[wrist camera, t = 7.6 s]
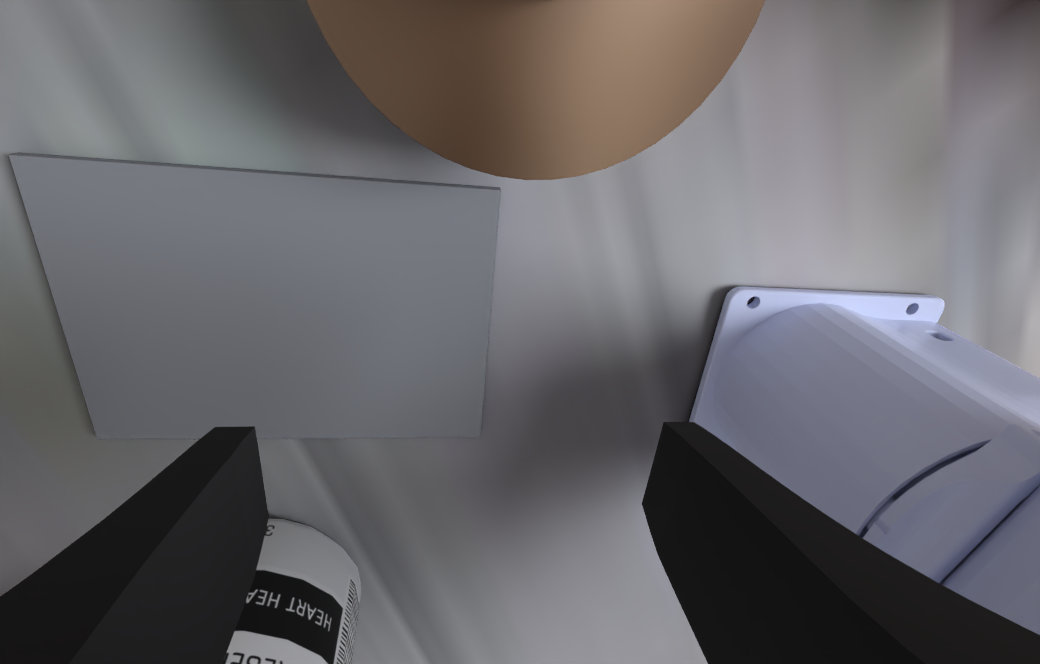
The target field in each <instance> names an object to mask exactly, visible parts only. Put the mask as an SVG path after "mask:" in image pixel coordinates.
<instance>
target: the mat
mask: <svg viewBox="0 0 1040 664" xmlns="http://www.w3.org/2000/svg"><path fill="white" fill-rule="evenodd" d="M9 158H10V161H11V164H12V168H13V171H14V174H15V177H16V180H17V184H18V187H19V190H20V193H21V196H22V200H23V203H24V206H25V209H26V212H27V216H28V219H29V222H30V225H31V228H32V232H33V235H34V238H35V241H36V244H37V248H38V251H39V254H40V257H41V260H42V264H43V267H44V270H45V273H46V276H47V280H48V283H49V286H50V289H51V293H52V296H53V299H54V302H55V305H56V309H57V312H58V315H59V318H60V321H61V325H62V328H63V331H64V334H65V337H66V341H67V344H68V347H69V350H70V353H71V357H72V360H73V363H74V366H75V369H76V373H77V376H78V379H79V382H80V385H81V389H82V392H83V395H84V398H85V402H86V405H87V408H88V411H89V414H90V418H91V421H92V424H93V427H94V430H95V434H96V437H97V439H201V438H202V437H203V436H204V435H206V434H207V433H208V432H209V431H211V430H212V429H213V428H214V427H247V426H255V430H256V437H257V439H259V438H478V437H480V436H481V423H482V411H483V399H484V387H485V375H486V363H487V351H488V339H489V327H490V315H491V303H492V290H493V278H494V266H495V254H496V242H497V230H498V218H499V206H500V194H501V190H500V188H498V187H484V186H470V185H456V184H443V183H429V182H415V181H401V180H388V179H374V178H360V177H346V176H333V175H319V174H305V173H291V172H278V171H264V170H250V169H236V168H223V167H209V166H195V165H182V164H168V163H154V162H140V161H127V160H113V159H99V158H85V157H72V156H58V155H44V154H30V153H15V154H10V155H9Z"/></svg>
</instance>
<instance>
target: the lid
mask: <svg viewBox="0 0 1040 664" xmlns="http://www.w3.org/2000/svg"><path fill="white" fill-rule="evenodd" d="M307 2H308V5H309V8H310V10H311V12H312V14H313V16H314V18H315V20H316V22H317V24H318V26H319V28H320V30H321V32H322V34H323V36H324V38H325V40H326V42H327V43H328V45H329V46H330V48H331V49H332V51H333V53H334V54H335V56H336V57H337V59H338V60H339V62H340V63H341V65H342V67H343V68H344V70H345V71H346V73H347V74H348V75H349V76H350V78H351V79H352V80H353V81H354V83H355V84H356V85H357V86H358V88H359V89H360V90H361V91H362V92H363V94H364V95H365V96H366V97H367V99H368V100H369V101H370V102H371V103H372V104H373V105H374V106H375V107H376V108H377V109H378V110H379V111H380V112H382V113H383V114H384V115H385V116H386V117H387V118H388V119H389V120H390V121H391V122H392V123H393V124H394V125H395V126H397V127H398V128H399V129H401V130H402V131H403V132H405V133H406V134H407V135H409V136H410V137H411V138H413V139H414V140H415V141H417V142H418V143H420V144H421V145H423V146H425V147H426V148H428V149H430V150H432V151H433V152H435V153H437V154H439V155H440V156H442V157H444V158H446V159H448V160H451V161H453V162H456V163H458V164H460V165H463V166H465V167H467V168H470V169H473V170H477V171H480V172H484V173H488V174H491V175H495V176H500V177H508V178H515V179H523V180H553V179H560V178H568V177H575V176H580V175H584V174H588V173H591V172H595V171H598V170H602V169H605V168H608V167H610V166H612V165H615V164H617V163H620V162H622V161H624V160H627V159H629V158H631V157H633V156H635V155H636V154H638V153H640V152H641V151H643V150H645V149H647V148H648V147H650V146H652V145H654V144H655V143H657V142H658V141H659V140H661V139H662V138H663V137H665V136H666V135H667V134H669V133H670V132H671V131H672V130H674V129H675V128H676V127H678V126H679V125H680V124H681V123H682V122H683V121H684V120H685V119H686V118H687V117H688V116H690V115H691V114H692V113H693V112H694V111H695V110H696V109H697V108H698V107H699V106H700V105H701V104H702V103H703V102H704V100H705V99H706V98H707V97H708V96H709V94H710V93H711V92H712V91H713V90H714V88H715V87H716V86H717V85H718V84H719V83H720V81H721V80H722V79H723V77H724V76H725V74H726V73H727V71H728V70H729V68H730V67H731V65H732V64H733V62H734V61H735V59H736V58H737V56H738V55H739V53H740V52H741V50H742V48H743V46H744V44H745V42H746V40H747V38H748V37H749V35H750V33H751V31H752V29H753V27H754V25H755V24H756V21H757V19H758V17H759V14H760V12H761V9H762V7H763V4H764V2H765V0H307Z"/></svg>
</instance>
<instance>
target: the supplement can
mask: <svg viewBox="0 0 1040 664" xmlns="http://www.w3.org/2000/svg"><path fill="white" fill-rule="evenodd" d="M361 591H362V587H361V582H360V577H359V572H358V567H357V566H356V565H355V563H354V562H353V561H352V559H351V558H350V557H349V556H348V554H347V553H346V552H345V550H344V549H343V548H342V547H341V546H339V545H338V544H336V543H335V542H334V540H332V539H331V538H329V537H327V536H326V535H324V534H322V533H321V532H319V531H317V530H316V529H314V528H313V527H310V526H307V525H303V524H300V523H296V522H293V521H289V520H285V519H270V518H269V519H268V523H267V527H266V532H265V536H264V540H263V545H262V549H261V553H260V557H259V561H258V565H257V569H256V573H255V577H254V580H253V583H252V585H251V588H250V591H249V594H248V596H247V599H246V602H245V604H244V607H243V610H242V613H241V615H240V618H239V621H238V623H237V626H236V629H235V631H234V634H233V637H232V639H231V642H230V645H229V647H228V650H227V653H226V655H225V658H224V661H223V663H222V664H351V661H352V654H353V647H354V640H355V633H356V626H357V619H358V612H359V605H360V598H361Z"/></svg>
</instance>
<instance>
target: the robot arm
mask: <svg viewBox="0 0 1040 664" xmlns="http://www.w3.org/2000/svg"><path fill="white" fill-rule="evenodd" d="M754 296H755V299H754V301H753V302H752V303H751V304H748V305H747V302H748V300H749V299H750V298H751V297H754ZM909 305H910V307H909V308H908V306H909ZM944 306H945V305H944V301H943V300H942V299H941V298H938V297H936V296H933V295H917V294H895V293H873V292H851V291H830V290H808V289H786V288H764V287H742V286H740V287H735V288H733V289H731V290H730V291H729V292H728V293H727V295H726V297H725V300H724V304H723V307H722V311H721V314H720V317H719V321H718V324H717V328H716V331H715V334H714V338H713V341H712V345H711V348H710V352H709V355H708V358H707V362H706V365H705V369H704V372H703V375H702V379H701V382H700V386H699V389H698V393H697V396H696V399H695V403H694V406H693V410H692V413H691V416H690V420H689V422H664V424H663V428H662V431H661V435H660V439H659V442H658V446H657V450H656V454H655V457H654V461H653V465H652V468H651V472H650V476H649V479H648V483H647V487H646V490H645V494H644V498H643V502H642V505H643V509H644V512H645V515H646V519H647V522H648V526H649V529H650V532H651V535H652V538H653V541H654V544H655V547H656V550H657V553H658V556H659V558H660V560H661V563H662V565H663V567H664V569H665V572H666V574H667V576H668V578H669V580H670V583H671V585H672V587H673V589H674V591H675V594H676V596H677V598H678V600H679V602H680V604H681V606H682V609H683V611H684V613H685V615H686V617H687V619H688V621H689V624H690V626H691V628H692V630H693V632H694V634H695V637H696V639H697V641H698V643H699V645H700V647H701V649H702V652H703V654H704V656H705V658H706V660H707V662H708V664H1040V378H1038V377H1037V376H1035V375H1033V374H1031V373H1029V372H1027V371H1025V370H1023V369H1022V368H1020V367H1018V366H1016V365H1014V364H1012V363H1010V362H1009V361H1007V360H1005V359H1003V358H1001V357H999V356H997V355H995V354H994V353H992V352H990V351H988V350H986V349H984V348H982V347H981V346H979V345H977V344H975V343H973V342H971V341H969V340H967V339H966V338H964V337H962V336H960V335H958V334H956V333H954V332H952V331H951V330H949V329H947V328H945V327H943V326H941V325H939V324H938V323H937V322H938V320H939V318H940V316H941V314H942V312H943V310H944ZM907 308H908V309H907ZM268 519H269V517H268V510H267V504H266V497H265V490H264V484H263V477H262V470H261V463H260V457H259V450H258V443H257V437H256V430H255V426H247V427H214V428H213V429H212V430H211V431H209V432H208V433H207V434H206V435H204V436H203V437H202V438H201V439H200V440H198V441H197V442H196V443H195V444H194V445H192V446H191V447H190V448H189V449H188V450H187V451H185V452H184V453H183V454H182V455H181V456H179V457H178V458H177V459H176V460H175V461H174V462H172V463H171V464H170V465H169V466H168V467H167V468H165V469H164V470H163V471H162V472H161V473H159V474H158V475H157V476H156V477H155V478H153V479H152V480H151V481H150V482H149V483H148V484H146V485H145V486H144V487H143V488H142V489H140V490H139V491H138V492H137V493H135V494H134V495H133V496H132V497H131V498H129V499H128V500H127V501H126V502H124V503H123V504H122V505H121V506H120V507H118V508H117V509H116V510H115V511H113V512H112V513H111V514H110V515H109V516H107V517H106V518H105V519H104V520H102V521H101V522H100V523H99V524H97V525H96V526H95V527H93V528H92V529H91V530H89V531H88V532H87V533H85V534H84V535H83V536H81V537H80V538H79V539H77V540H76V541H75V542H74V543H72V544H71V545H70V546H68V547H67V548H66V549H64V550H63V551H62V552H60V553H59V554H58V555H56V556H55V557H54V558H52V559H51V560H50V561H49V562H47V563H46V564H45V565H43V566H42V567H41V568H39V569H38V570H37V571H35V572H34V573H33V574H31V575H30V576H29V577H27V578H26V579H25V580H23V581H22V582H20V583H19V584H18V585H16V586H15V587H13V588H12V589H11V590H9V591H8V592H6V593H5V594H4V595H2V596H1V597H0V664H222V663H223V661H224V658H225V655H226V653H227V650H228V647H229V645H230V642H231V639H232V637H233V634H234V631H235V629H236V626H237V623H238V621H239V618H240V615H241V613H242V610H243V607H244V604H245V602H246V599H247V596H248V594H249V591H250V588H251V585H252V583H253V580H254V577H255V573H256V569H257V565H258V561H259V557H260V553H261V549H262V545H263V540H264V536H265V532H266V527H267V523H268Z"/></svg>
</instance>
